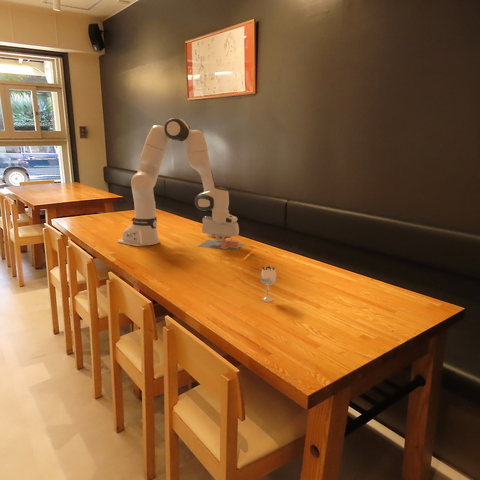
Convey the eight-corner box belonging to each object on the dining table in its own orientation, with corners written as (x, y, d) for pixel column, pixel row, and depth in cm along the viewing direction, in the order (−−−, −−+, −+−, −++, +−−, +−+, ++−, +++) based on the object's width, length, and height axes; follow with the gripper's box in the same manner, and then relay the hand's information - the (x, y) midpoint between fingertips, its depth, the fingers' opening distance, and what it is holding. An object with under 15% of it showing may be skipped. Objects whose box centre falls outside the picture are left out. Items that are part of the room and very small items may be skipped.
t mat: (197, 247, 210) (197, 246, 210) (208, 240, 224) (208, 239, 224) (235, 252, 203) (235, 250, 203) (244, 244, 217) (244, 243, 217)
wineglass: (265, 295, 149) (266, 264, 146) (278, 299, 145) (279, 268, 142) (256, 299, 144) (257, 268, 141) (269, 303, 141) (270, 272, 138)
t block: (220, 247, 208) (220, 242, 208) (227, 243, 218) (227, 237, 217) (234, 249, 206) (234, 243, 205) (240, 244, 215) (240, 239, 214)
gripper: (200, 216, 210) (200, 241, 214) (236, 220, 204) (235, 246, 207) (204, 214, 216) (204, 239, 219) (240, 218, 210) (239, 243, 213)
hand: (220, 242), depth 213 cm, fingers closed
